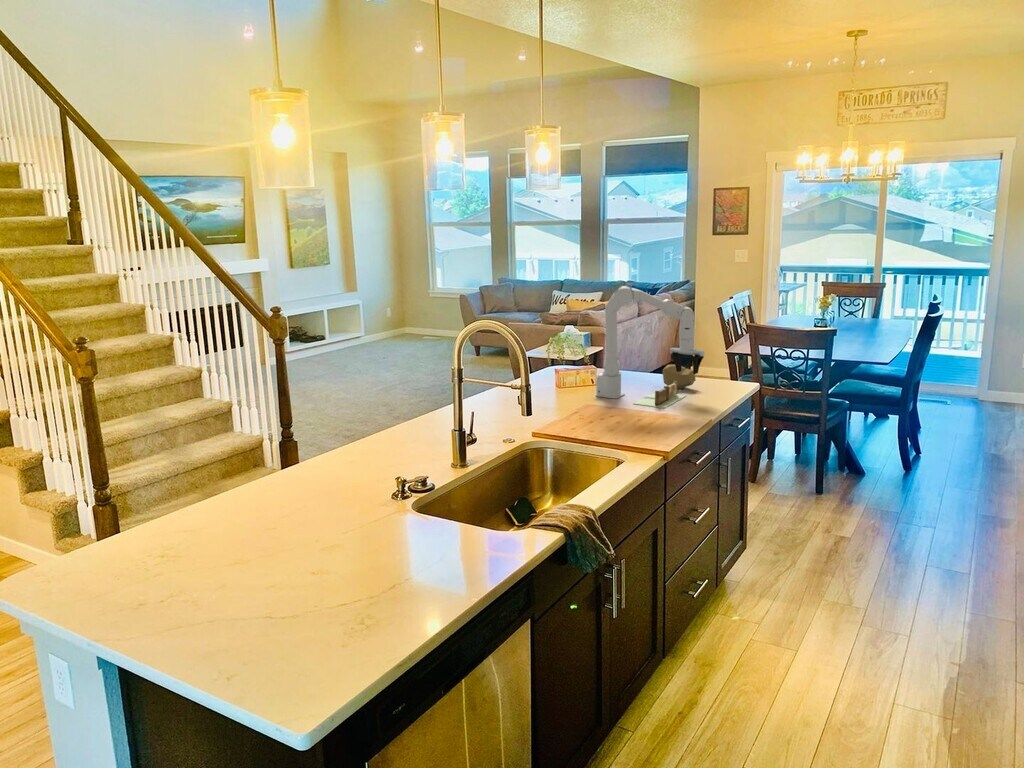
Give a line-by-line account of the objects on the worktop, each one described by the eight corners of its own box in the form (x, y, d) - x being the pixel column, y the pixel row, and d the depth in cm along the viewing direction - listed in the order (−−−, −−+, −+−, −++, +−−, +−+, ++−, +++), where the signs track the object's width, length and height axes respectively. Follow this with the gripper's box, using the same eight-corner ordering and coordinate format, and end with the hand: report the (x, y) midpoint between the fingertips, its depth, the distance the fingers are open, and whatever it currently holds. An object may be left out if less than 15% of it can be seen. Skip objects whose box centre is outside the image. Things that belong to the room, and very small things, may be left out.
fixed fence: (653, 406, 292) (654, 391, 290) (664, 399, 300) (665, 385, 299) (658, 406, 290) (658, 391, 289) (669, 400, 299) (670, 386, 298)
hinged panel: (669, 398, 300) (670, 385, 299) (665, 397, 301) (666, 385, 299) (677, 393, 306) (678, 381, 305) (674, 393, 307) (674, 381, 306)
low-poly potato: (654, 387, 323) (661, 380, 312) (659, 363, 326) (666, 355, 315) (688, 396, 323) (697, 389, 312) (693, 372, 326) (701, 365, 315)
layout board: (633, 404, 295) (633, 403, 295) (655, 392, 313) (655, 391, 313) (664, 408, 288) (665, 407, 288) (686, 396, 306) (686, 395, 306)
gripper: (708, 338, 297) (708, 372, 299) (676, 335, 307) (677, 368, 310) (698, 340, 292) (699, 375, 295) (666, 338, 302) (667, 372, 305)
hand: (687, 372), depth 302 cm, fingers open, 7 cm apart
